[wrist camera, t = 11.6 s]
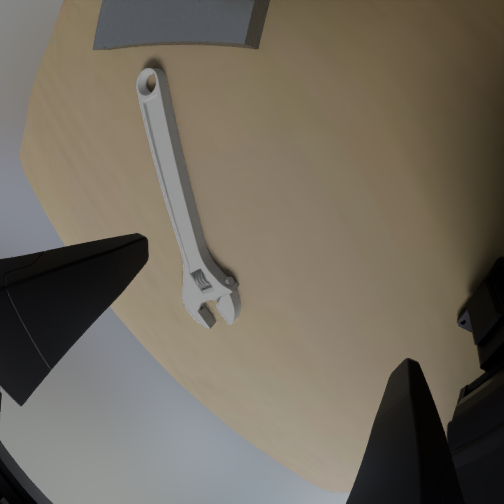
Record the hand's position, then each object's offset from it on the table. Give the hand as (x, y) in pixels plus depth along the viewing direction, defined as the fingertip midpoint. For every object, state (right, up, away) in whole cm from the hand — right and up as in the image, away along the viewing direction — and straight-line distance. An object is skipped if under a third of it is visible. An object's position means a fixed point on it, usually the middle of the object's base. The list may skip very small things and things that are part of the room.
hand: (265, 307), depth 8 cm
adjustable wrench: (-5, +5, +16) cm, 17 cm away
